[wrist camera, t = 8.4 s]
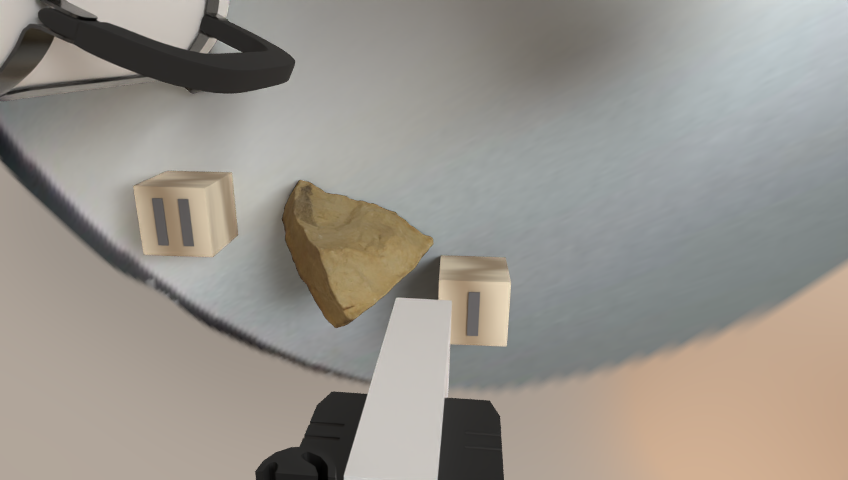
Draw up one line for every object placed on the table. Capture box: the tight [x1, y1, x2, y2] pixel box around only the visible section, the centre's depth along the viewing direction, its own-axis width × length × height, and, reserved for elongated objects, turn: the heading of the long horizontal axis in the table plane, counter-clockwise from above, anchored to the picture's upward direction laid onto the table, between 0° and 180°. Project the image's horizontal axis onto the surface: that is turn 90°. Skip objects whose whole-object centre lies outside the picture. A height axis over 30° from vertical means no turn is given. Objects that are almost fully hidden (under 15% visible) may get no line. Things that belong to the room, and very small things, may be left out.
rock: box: [282, 180, 433, 328], centre depth 41 cm, size 11×9×10 cm
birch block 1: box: [133, 171, 238, 257], centre depth 42 cm, size 5×5×5 cm
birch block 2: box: [439, 255, 511, 346], centre depth 43 cm, size 5×5×5 cm
